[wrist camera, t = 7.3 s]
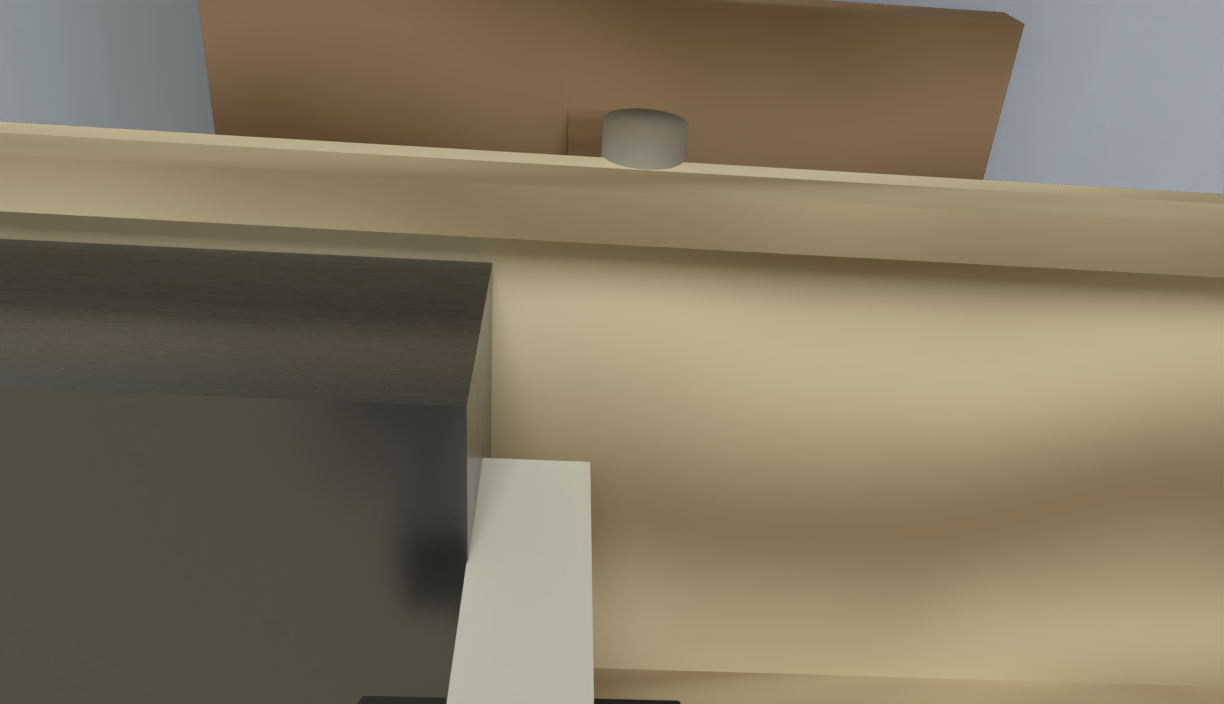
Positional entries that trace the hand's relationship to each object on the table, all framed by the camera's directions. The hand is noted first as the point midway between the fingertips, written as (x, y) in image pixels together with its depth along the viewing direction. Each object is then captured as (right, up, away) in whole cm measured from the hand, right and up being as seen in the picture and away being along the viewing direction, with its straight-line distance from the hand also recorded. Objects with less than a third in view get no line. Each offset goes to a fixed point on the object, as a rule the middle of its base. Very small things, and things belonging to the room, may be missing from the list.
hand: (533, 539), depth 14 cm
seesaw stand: (+1, +7, +11) cm, 13 cm away
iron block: (-6, +1, +1) cm, 6 cm away
